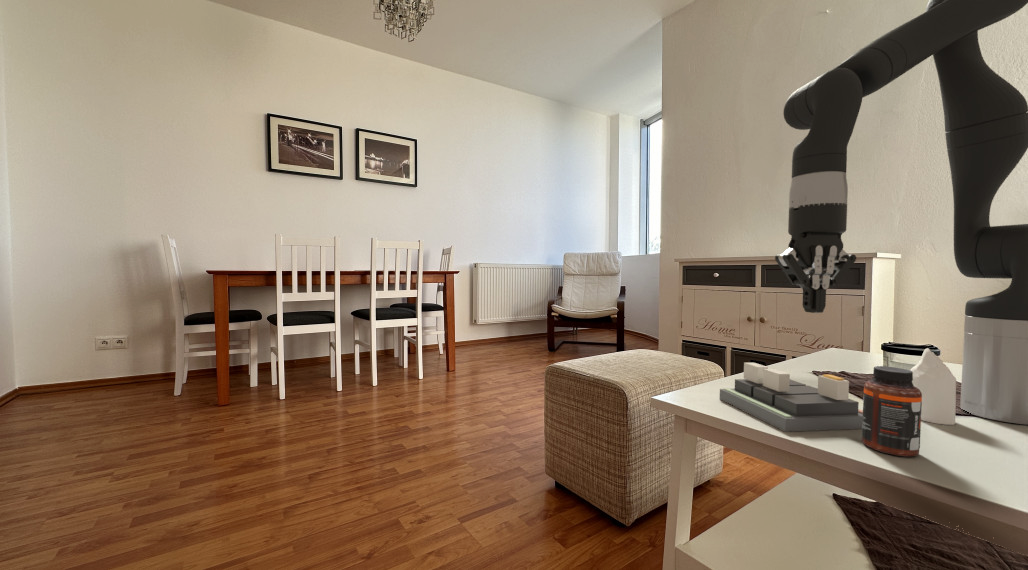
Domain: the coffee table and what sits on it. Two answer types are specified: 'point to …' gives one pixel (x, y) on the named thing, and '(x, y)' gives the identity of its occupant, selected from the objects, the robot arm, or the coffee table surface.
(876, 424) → the supplement bottle
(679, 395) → the coffee table surface
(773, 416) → the panel
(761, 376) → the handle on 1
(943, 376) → the white pointed block
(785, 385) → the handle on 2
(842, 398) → the handle
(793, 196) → the robot arm
